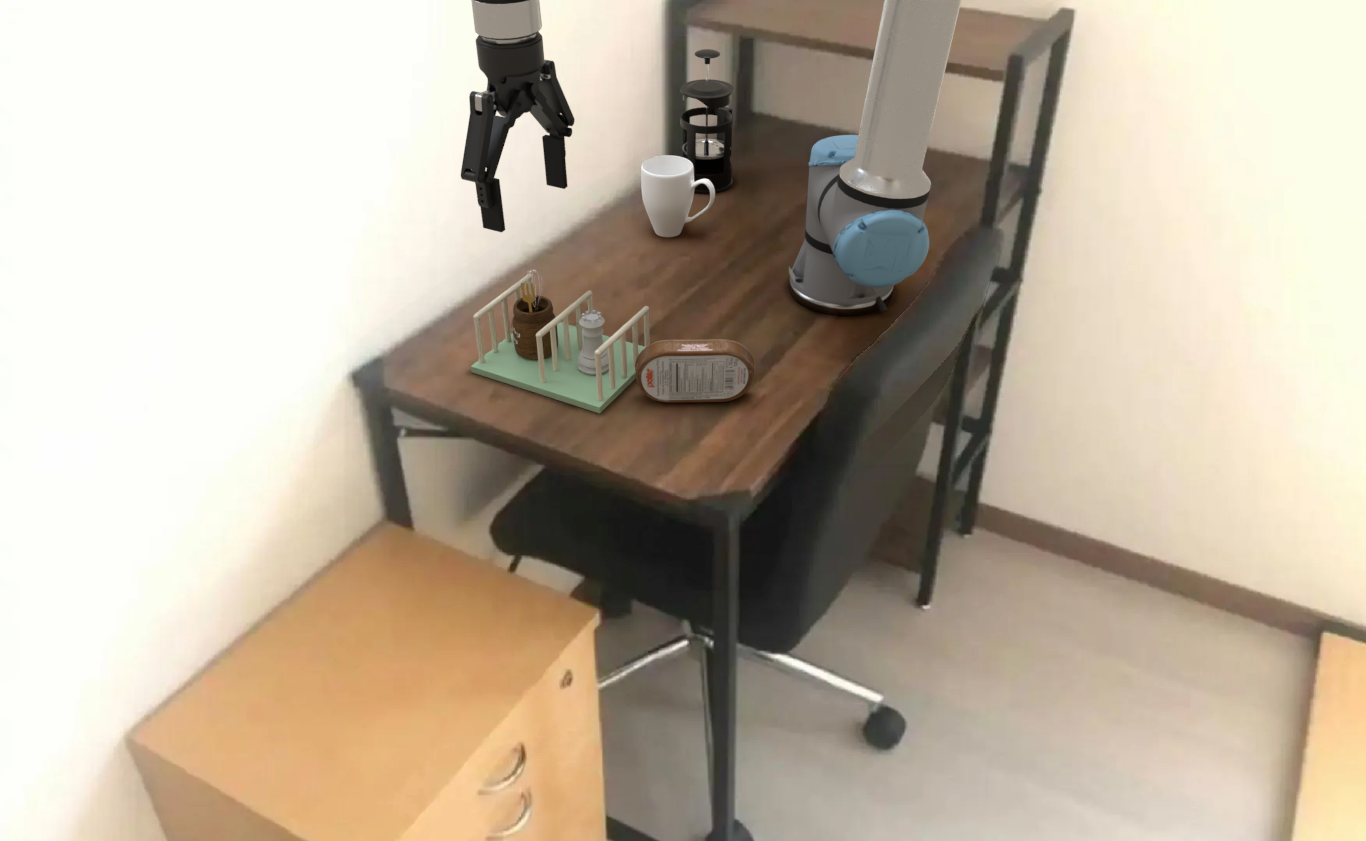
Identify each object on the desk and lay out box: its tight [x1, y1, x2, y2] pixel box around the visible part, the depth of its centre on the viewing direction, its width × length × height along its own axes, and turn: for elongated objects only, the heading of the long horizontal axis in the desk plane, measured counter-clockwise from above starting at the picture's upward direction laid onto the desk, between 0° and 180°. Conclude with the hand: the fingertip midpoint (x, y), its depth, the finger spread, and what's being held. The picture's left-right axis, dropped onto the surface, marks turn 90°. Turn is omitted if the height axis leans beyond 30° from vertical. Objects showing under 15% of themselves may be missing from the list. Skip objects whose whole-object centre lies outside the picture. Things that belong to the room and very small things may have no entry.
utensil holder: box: [511, 269, 558, 360], centre depth 148 cm, size 6×6×12 cm
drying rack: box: [470, 273, 651, 415], centre depth 148 cm, size 20×15×8 cm
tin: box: [635, 338, 755, 404], centre depth 141 cm, size 15×3×8 cm, turn 92°
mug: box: [640, 154, 716, 238], centre depth 178 cm, size 12×8×11 cm
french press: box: [679, 48, 735, 195], centre depth 191 cm, size 12×9×23 cm
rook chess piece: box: [578, 309, 609, 375], centre depth 145 cm, size 4×4×8 cm
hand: (526, 207), depth 139 cm, fingers open, 13 cm apart
